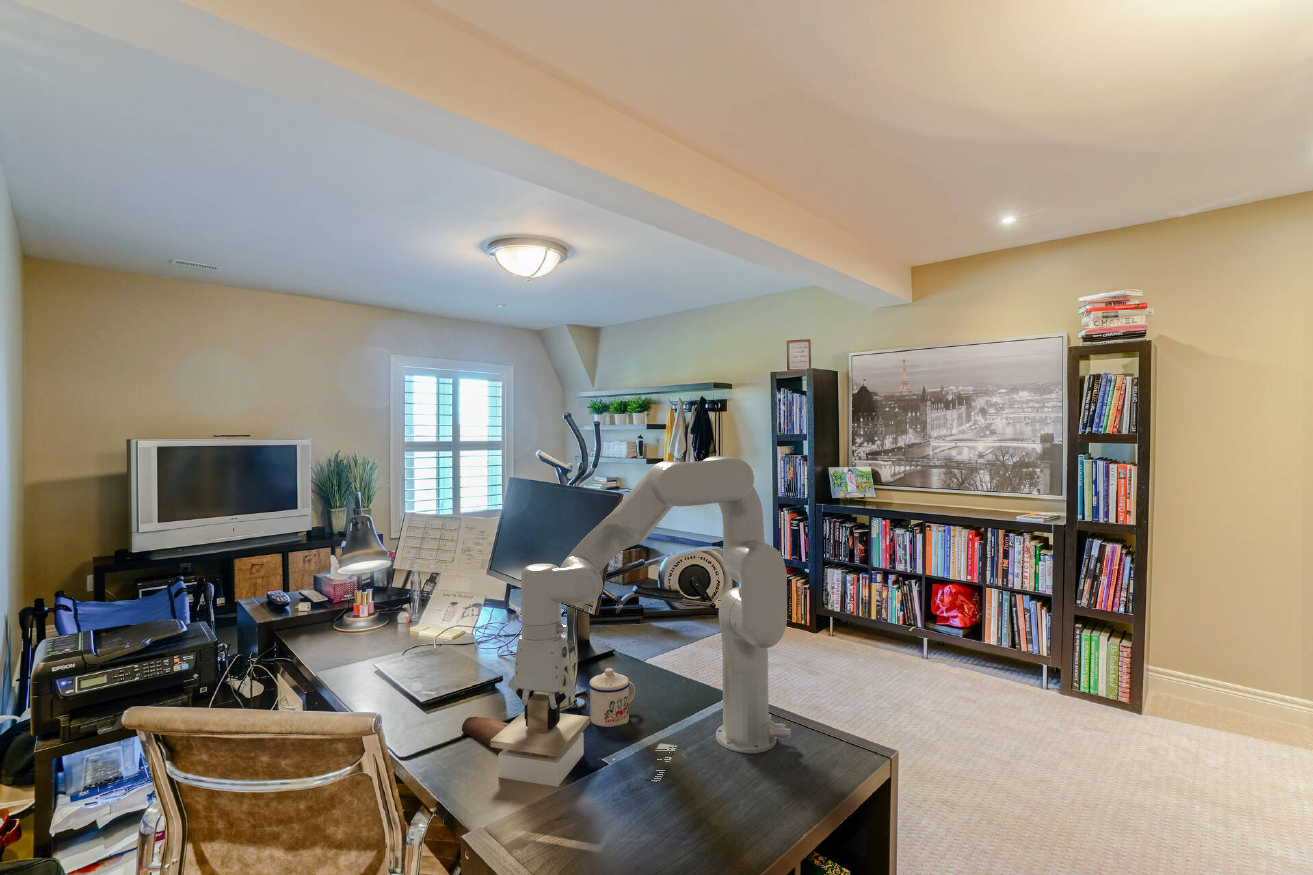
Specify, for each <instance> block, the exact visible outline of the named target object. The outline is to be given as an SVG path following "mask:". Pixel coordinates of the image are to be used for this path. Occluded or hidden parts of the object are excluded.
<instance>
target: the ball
mask: <svg viewBox="0 0 1313 875" xmlns="http://www.w3.org/2000/svg"><path fill="white" fill-rule="evenodd" d="M532 756H533V757H540V758H547V756H548V755H543V754H536V753H532Z"/></svg>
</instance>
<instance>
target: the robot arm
mask: <svg viewBox="0 0 1313 875" xmlns="http://www.w3.org/2000/svg"><path fill="white" fill-rule="evenodd" d="M754 482H755V475H754V471H753V469H752V467H751V465H750V464H749V463H747V461H745V460H743V459H741V458H738V457H733V456H723V455H715V456H713V455H712V456H709V457H706V458H705V459H703V460H698V461H672V460H671V461H670V460H669V461H667V460H664V461H660V462H658V463H656V464H655V465H652V467H651V468H650V469H649V470H648V471H647V472H646V473H645V474H644V476H643V477H641V479H640V480H639V481H638V482H637V483H636V485H635V486H634V487H633V488H632V490H631V491H629V493H628V494H627V495H626V496H625V497H624V498H623V500H621V502H619V504H618V505H617V506H616V507H615V508H614V509H613V510H612V512H610V513H609V515H607V516H606V517H605V518H604V519H603V520H601V521H600V523H598V524H597V525H596V526H595V527H594V528H592V530H590V532H588V533H587V534H586V535H585V537H584V538H582V539H581V541H580V542H578V543H577V545H576V546H575V547H574V548H573V549H572V551H570V553H569V554H568V555H567V557H565V559H564V560H563V561H562V563H561V565H560V567H559V566H558V565H556V564H553V563H534V564H529V565H526V566H525V567H524V568H523V569H522V571H521V577H520V581H521V582H520V584H521V586H520V587H521V591H520V592H521V601H520V602H521V634H520V635H519V636H518V640H517V645H516V650H515V659H514V674H513V676H512V677H511V679H510V680H509V681H508V684H507V686H508V688H510V690H512V692H514V693H516V695H517V697H518V698H519V699H520V700H521V704H522V706H524V710H523V712H524V718H525V720H526V726H527V727H528V699H529V698H530V697H531V696H533V695H534V693H535V691H541V692H548V694H549V700H550V708H549V709H548V729H550V730H552V729H553V728H554V727H555V726H556V725H557V724H558V723H559V721H560V713H561V712H560V704H561V703H562V702H563V701H564V700H565V699H566V698H568V697H570V696H571V695H573V694H574V693H575V694H576V692H577V688H576V686H574V684H573V682H572V680H571V671H570V659H569V651H568V645H567V640H568V639H567V637H566V635H565V634H567V632H568V625H565V624H563V620H562V604H569V605H571V604H572V605H587V604H588V605H589V604H590V603H592V602H594V601H596V600H597V599H598V598H599V597H600V595H601V594H602V591H603V587H604V583H603V579H602V576H601V571H602V570H603V569H604V568H605V567H606V566H607V565H608V564H609V562H610V561H611V560H612V559H614V558H615V557H616V556H617V555H618V554H620V553H621V552H623V551H624V550H627V549H628V548H631V547H634V546H636V545H638V544H640V543H642V542H643V541H645V540H646V539H647V538H648V536H649V535H650V534H651V533H652V532H653V530H654V529H655V528H656V527H657V526H658V525H659V524H660V522H661V521H662V520H663V519H664V518H665V517H666V515H667V514H668V513H669V512H670V511H671V509H673V507H692V506H703V505H710V504H713V505H714V504H718V506H719V508H720V511H721V517H722V518H721V519H722V528H723V529H722V530H723V531H722V535H723V536H722V538H723V540H722V541H723V542H722V544H723V550H722V556H723V557H722V558H723V559H722V562H723V568H724V571H725V573H726V574H727V576H728V577H730V578H731V579H732V580H733V581H735V582H737V583H738V584H740V586H736V587H733V588H731V589H729V590H728V591H726V592H725V593H724V594H723V595H722V598H721V599H720V603H719V605H718V621H719V622H718V623H719V629H720V635H721V647H722V650H721V651H722V653H721V654H722V725H720V726H719V727H718V728H717V729H716V731H715V740H716V742H717V743H718V744H719V745H721V747H722V748H723V747H724V748H726V749H727V750H729V751H732V752H736V753H744V754H745V753H746V754H760V753H764V752H767V751H770V750H772V749H773V748H774V747H775V746H776V745H777V738H781V739H787V740H790V739H791V737H792V736H791V734H792V733H791V731H792V730H791V728H787V727H786V726H787V725H786V724H785V723H775V721H772V714H769V651H768V649H769V648H772V647H774V646H776V645H777V644H778V643H779V642H780V641H781V640H782V638H783V637H784V634H785V631H786V627H787V623H788V585H787V584H788V579H787V576H788V575H787V574H788V573H787V568H786V564H785V563H786V562H785V560H784V558H783V556H782V555H781V553H780V552H779V550H777V548H775V547H774V546H772V545H771V544H769V543H766V541H765V540H766V539H765V527H764V512H763V505H762V502H761V499H760V496H759V494H758V492H757V490H756V488H755V487H754ZM563 685H564V686H565V688H566V691H564V692H563V693H562V694H561V690H562V686H563Z"/></svg>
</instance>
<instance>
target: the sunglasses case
mask: <svg viewBox="0 0 1313 875" xmlns="http://www.w3.org/2000/svg"><path fill="white" fill-rule="evenodd" d="M509 724H510V723H508V722H504V721H501V720H497V719H494V718H489V717H483V716H470V717H466V718H465V720H464V722H463V723H462V726H461V732H462V733H463V734H465V735H467V736H471V738H473V739H475V740H477V741H478V743H479V742H480V743H481V744H482V745H484V746H485V747H486V748H487V747H488V748H489V749H490V750H491V751H493V752H494V753H496V754H497V755H498V754H499V753H500V752H501V751H502V750H504V749H502V748H495V747H490V740H491V739H493V738H494V737H495V736H496V735H497V734H498V733H499V732H501V731H502V730H503V729H504V728H505V727H506V726H507V725H509Z"/></svg>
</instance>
